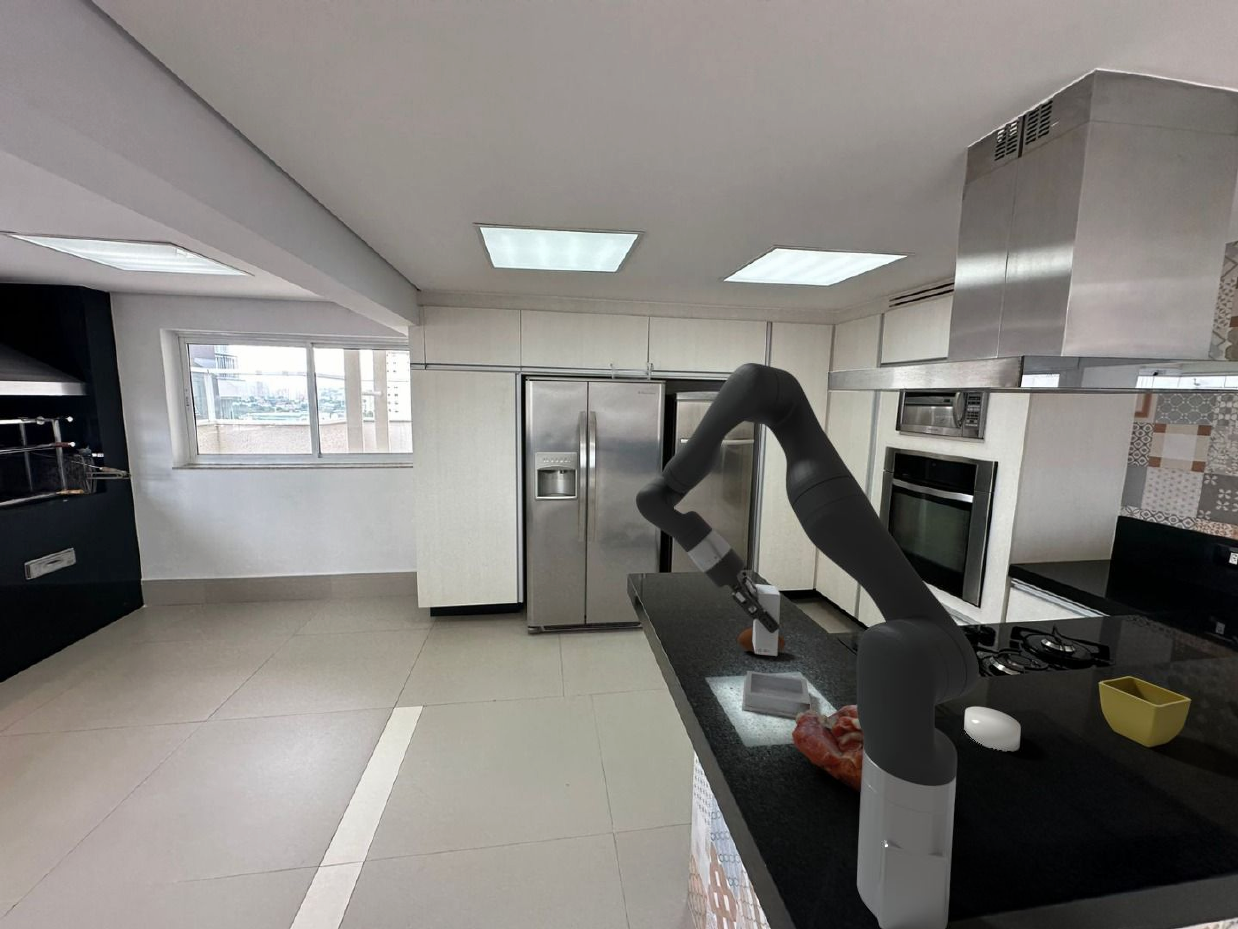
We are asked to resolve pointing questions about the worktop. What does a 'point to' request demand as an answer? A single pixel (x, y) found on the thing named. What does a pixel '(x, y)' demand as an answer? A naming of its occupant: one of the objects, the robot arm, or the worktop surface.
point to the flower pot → (1143, 710)
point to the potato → (747, 640)
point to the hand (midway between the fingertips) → (774, 623)
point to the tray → (775, 694)
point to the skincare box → (761, 636)
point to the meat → (832, 743)
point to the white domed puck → (992, 728)
